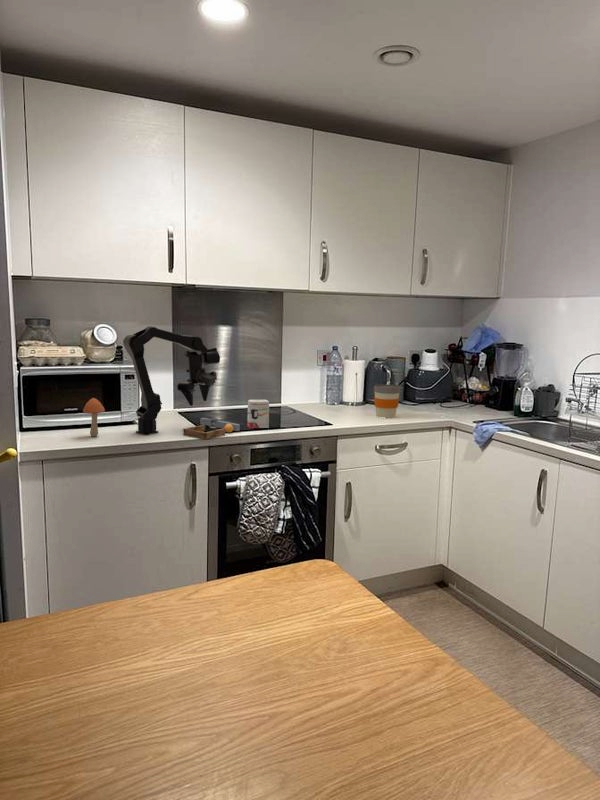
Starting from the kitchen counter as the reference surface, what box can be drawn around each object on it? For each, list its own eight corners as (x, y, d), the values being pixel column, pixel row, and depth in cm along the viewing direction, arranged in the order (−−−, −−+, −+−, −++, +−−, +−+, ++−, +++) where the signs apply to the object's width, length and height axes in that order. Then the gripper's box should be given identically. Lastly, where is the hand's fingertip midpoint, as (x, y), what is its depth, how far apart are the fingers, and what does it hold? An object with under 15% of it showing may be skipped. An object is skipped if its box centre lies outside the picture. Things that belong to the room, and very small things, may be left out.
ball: (229, 433, 230) (229, 425, 230) (222, 432, 232) (222, 423, 232) (235, 432, 233) (235, 423, 233) (228, 431, 235) (228, 422, 235)
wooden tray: (205, 439, 219) (205, 433, 219) (183, 435, 226) (183, 428, 226) (225, 435, 228) (225, 428, 228) (203, 430, 235) (203, 424, 234)
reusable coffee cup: (367, 415, 280) (369, 384, 278) (389, 413, 286) (390, 384, 283) (381, 419, 269) (383, 388, 267) (403, 418, 274) (405, 387, 272)
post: (214, 428, 239) (214, 422, 239) (207, 427, 242) (207, 421, 241) (221, 427, 243) (221, 421, 242) (214, 425, 245) (214, 420, 245)
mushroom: (98, 433, 226) (97, 395, 223) (109, 436, 221) (108, 397, 218) (79, 436, 219) (78, 397, 217) (90, 439, 214) (89, 400, 212)
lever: (236, 431, 233) (236, 424, 233) (199, 424, 245) (199, 417, 245) (240, 430, 235) (240, 423, 235) (204, 423, 247) (204, 416, 247)
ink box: (249, 429, 240) (249, 401, 238) (247, 426, 245) (247, 399, 243) (269, 428, 243) (269, 401, 241) (266, 426, 247) (267, 399, 245)
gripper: (196, 370, 224) (200, 409, 228) (224, 363, 240) (227, 399, 244) (174, 369, 230) (178, 407, 233) (203, 362, 246) (205, 398, 249)
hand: (198, 403), depth 239 cm, fingers open, 9 cm apart
